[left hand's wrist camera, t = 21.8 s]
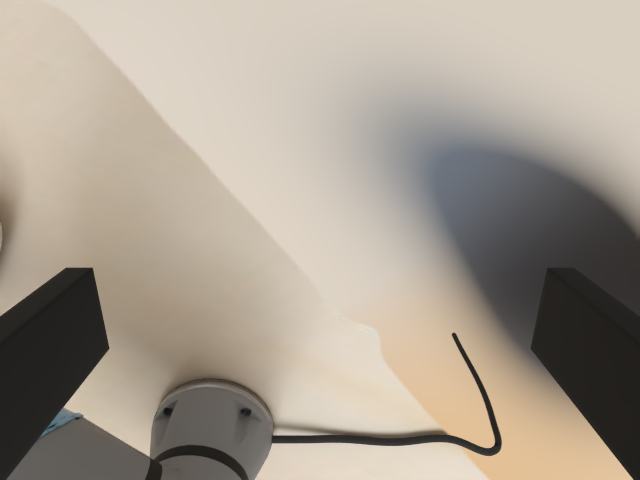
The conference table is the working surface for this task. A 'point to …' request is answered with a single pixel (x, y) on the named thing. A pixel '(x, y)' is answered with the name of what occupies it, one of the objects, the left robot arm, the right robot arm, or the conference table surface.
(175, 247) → the conference table surface
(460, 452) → the conference table surface
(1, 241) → the projector
